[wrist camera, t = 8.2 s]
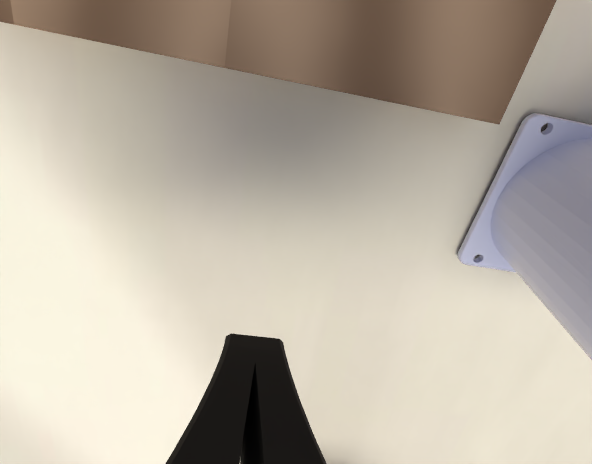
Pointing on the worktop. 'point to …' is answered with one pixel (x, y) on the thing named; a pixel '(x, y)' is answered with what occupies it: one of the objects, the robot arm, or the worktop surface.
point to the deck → (327, 42)
